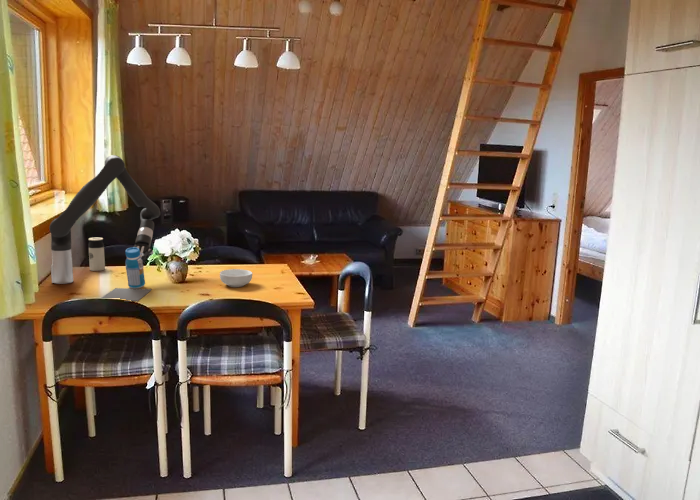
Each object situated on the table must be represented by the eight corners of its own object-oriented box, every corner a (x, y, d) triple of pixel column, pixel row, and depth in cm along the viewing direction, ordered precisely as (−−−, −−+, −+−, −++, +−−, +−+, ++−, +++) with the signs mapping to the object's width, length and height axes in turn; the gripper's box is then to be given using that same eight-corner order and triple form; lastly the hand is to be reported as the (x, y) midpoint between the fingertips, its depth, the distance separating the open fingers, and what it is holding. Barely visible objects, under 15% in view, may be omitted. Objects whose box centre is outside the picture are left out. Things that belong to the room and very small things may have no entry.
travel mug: (102, 267, 337) (100, 236, 334) (107, 270, 332) (105, 238, 328) (87, 269, 332) (86, 238, 329) (92, 271, 326) (91, 240, 323)
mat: (98, 300, 272) (98, 299, 272) (115, 289, 293) (115, 288, 293) (137, 301, 273) (137, 300, 273) (151, 290, 293) (151, 289, 293)
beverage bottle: (131, 290, 292) (126, 255, 284) (125, 283, 298) (121, 248, 290) (147, 286, 297) (143, 251, 288) (142, 279, 303) (138, 244, 294)
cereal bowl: (232, 291, 296) (232, 277, 295) (213, 285, 307) (213, 271, 306) (258, 285, 309) (258, 272, 307) (239, 280, 320) (239, 267, 318)
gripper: (129, 233, 304) (122, 261, 294) (155, 234, 304) (148, 261, 295) (133, 241, 310) (126, 269, 300) (158, 242, 311) (152, 269, 301)
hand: (137, 265), depth 298 cm, fingers closed
